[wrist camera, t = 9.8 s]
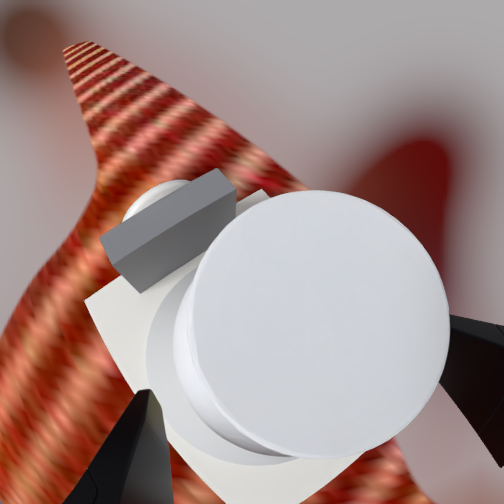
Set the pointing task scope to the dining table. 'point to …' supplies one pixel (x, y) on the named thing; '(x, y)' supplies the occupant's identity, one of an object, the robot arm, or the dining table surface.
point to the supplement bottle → (312, 328)
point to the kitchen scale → (162, 326)
